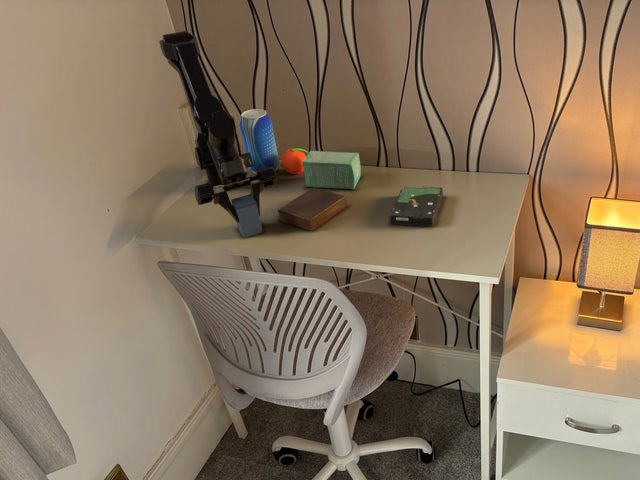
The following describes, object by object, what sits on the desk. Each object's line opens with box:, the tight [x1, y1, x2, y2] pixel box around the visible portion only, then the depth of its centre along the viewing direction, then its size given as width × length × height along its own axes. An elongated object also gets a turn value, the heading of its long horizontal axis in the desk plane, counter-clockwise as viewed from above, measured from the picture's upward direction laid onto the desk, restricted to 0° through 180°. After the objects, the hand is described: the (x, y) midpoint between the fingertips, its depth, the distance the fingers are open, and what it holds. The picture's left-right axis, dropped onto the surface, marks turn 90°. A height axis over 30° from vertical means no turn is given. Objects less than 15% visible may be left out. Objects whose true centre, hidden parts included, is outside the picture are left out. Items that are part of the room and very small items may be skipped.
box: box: [302, 150, 362, 190], centre depth 162 cm, size 7×14×8 cm, turn 79°
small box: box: [230, 193, 263, 239], centre depth 144 cm, size 5×5×8 cm
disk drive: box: [389, 185, 444, 227], centre depth 149 cm, size 10×3×15 cm
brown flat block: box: [277, 187, 347, 232], centre depth 150 cm, size 10×13×3 cm
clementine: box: [281, 147, 309, 175], centre depth 168 cm, size 8×7×7 cm
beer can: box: [239, 108, 280, 175], centre depth 168 cm, size 8×8×16 cm
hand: (248, 219), depth 143 cm, fingers closed on small box, 4 cm apart
